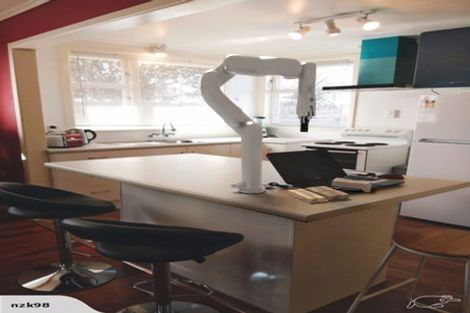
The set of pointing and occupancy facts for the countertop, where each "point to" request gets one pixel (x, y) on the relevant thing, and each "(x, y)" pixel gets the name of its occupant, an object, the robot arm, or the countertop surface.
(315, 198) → the laid board
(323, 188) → the plank
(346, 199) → the underlay mat
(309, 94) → the robot arm
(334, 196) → the plank
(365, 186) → the brick
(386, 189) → the countertop surface
